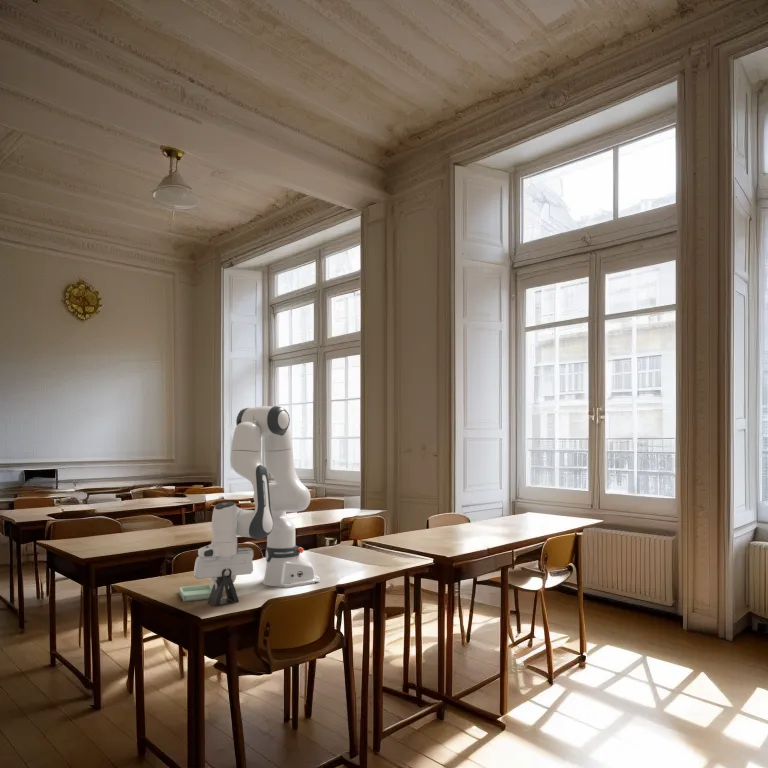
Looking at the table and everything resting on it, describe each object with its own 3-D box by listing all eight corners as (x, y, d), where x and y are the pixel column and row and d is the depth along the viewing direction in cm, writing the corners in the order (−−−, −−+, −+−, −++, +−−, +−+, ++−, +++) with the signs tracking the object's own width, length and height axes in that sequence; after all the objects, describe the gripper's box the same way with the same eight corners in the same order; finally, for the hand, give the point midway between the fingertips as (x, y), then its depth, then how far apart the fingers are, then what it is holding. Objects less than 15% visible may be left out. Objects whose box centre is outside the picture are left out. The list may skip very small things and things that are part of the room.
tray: (210, 589, 243) (210, 584, 243) (216, 598, 231) (216, 592, 231) (179, 592, 239) (179, 587, 239) (183, 601, 227) (183, 595, 227)
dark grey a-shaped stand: (231, 598, 231) (232, 564, 231) (239, 602, 226) (239, 567, 227) (207, 602, 225) (208, 568, 226) (214, 606, 220) (215, 571, 221)
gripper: (251, 545, 234) (251, 584, 233) (193, 549, 226) (192, 589, 225) (255, 548, 228) (255, 587, 227) (196, 553, 220) (195, 594, 219)
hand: (223, 589), depth 226 cm, fingers closed on dark grey a-shaped stand, 3 cm apart
